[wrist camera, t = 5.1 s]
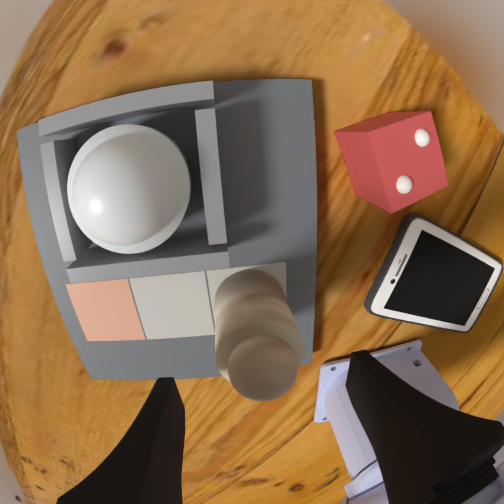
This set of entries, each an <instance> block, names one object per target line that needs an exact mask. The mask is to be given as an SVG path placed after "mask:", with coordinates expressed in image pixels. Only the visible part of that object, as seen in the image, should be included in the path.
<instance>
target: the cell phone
mask: <svg viewBox="0 0 504 504" xmlns="http://www.w3.org/2000/svg"><path fill="white" fill-rule="evenodd" d="M502 271H503V265H502V263H501V262H500V261H498V260H497V259H495V258H494V257H492V256H490V255H489V254H487V253H486V252H484V251H483V250H481V249H479V248H478V247H476V246H474V245H473V244H471V243H469V242H468V241H466V240H464V239H463V238H461V237H459V236H457V235H456V234H454V233H452V232H450V231H449V230H447V229H445V228H443V227H441V226H439V225H438V224H436V223H434V222H432V221H430V220H428V219H426V218H424V217H422V216H420V215H417V214H414V213H411V214H408V215H407V216H406V217H405V218H404V220H403V221H402V223H401V225H400V227H399V230H398V232H397V234H396V236H395V239H394V241H393V243H392V245H391V248H390V250H389V252H388V254H387V256H386V258H385V260H384V263H383V265H382V267H381V269H380V271H379V273H378V275H377V277H376V279H375V281H374V283H373V285H372V287H371V289H370V291H369V293H368V295H367V297H366V299H365V303H364V307H365V308H366V310H367V311H368V312H369V313H370V314H373V315H375V316H379V317H382V318H387V319H392V320H397V321H402V322H407V323H412V324H417V325H422V326H427V327H433V328H438V329H443V330H449V331H455V332H460V333H467V332H469V331H470V330H471V329H472V328H473V326H474V325H475V323H476V321H477V320H478V318H479V316H480V315H481V313H482V311H483V309H484V307H485V306H486V304H487V302H488V300H489V298H490V296H491V294H492V292H493V291H494V289H495V287H496V285H497V282H498V280H499V278H500V276H501V274H502ZM390 317H392V318H390ZM395 318H397V319H395ZM400 319H402V320H400ZM404 320H406V321H404ZM409 321H410V322H409Z"/></svg>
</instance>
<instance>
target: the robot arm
mask: <svg viewBox="0 0 504 504" xmlns="http://www.w3.org/2000/svg"><path fill="white" fill-rule="evenodd" d="M421 347H422V342H421V340H415V341H412V342H408V343H405V344H401V345H398V346H394V347H391V348H387V349H383V350H379V351H375V352H371V353H368V352H367V351H366V350H361V351H357V352H352V353H351V358H346V359H341V360H337V361H332V362H327V363H324V364H323V365H322V366H321V368H320V376H319V384H318V392H317V400H316V408H315V415H314V420H315V422H316V423H320V422H324V421H330V424H331V426H332V429H333V432H334V434H335V437H336V440H337V442H338V445H339V448H340V450H341V453H342V456H343V459H344V461H345V464H346V467H347V469H348V472H349V475H350V478H351V480H352V481H351V482H350V483H348V484H346V485H345V486H344V487H345V490H346V493H347V495H346V496H345V497H344V498H343V499H342V500H341V502H340V504H504V462H503V463H501V464H500V465H499V466H498V467H497V468H494V466H493V464H494V463H495V459H494V458H493V456H494V455H495V454H496V452H498V451H499V449H501V447H502V446H503V445H504V426H503V425H502V424H501V422H499V421H494V420H489V419H484V418H480V417H476V416H473V415H470V414H466V413H464V412H461V411H459V407H458V403H457V400H456V397H455V395H454V393H453V391H452V390H451V388H450V387H449V386H448V385H447V383H446V382H445V381H444V379H443V378H442V377H441V375H440V374H439V373H438V372H437V370H436V369H435V368H434V366H433V365H432V364H431V363H430V361H429V360H428V359H427V358H426V356H425V355H424V354H423V353H422V351H421ZM332 367H333V368H332ZM184 438H185V407H184V405H183V402H182V399H181V397H180V394H179V391H178V388H177V386H176V383H175V380H174V377H159V378H158V379H157V380H156V382H155V384H154V386H153V388H152V390H151V392H150V394H149V396H148V398H147V400H146V401H145V403H144V405H143V407H142V408H141V410H140V412H139V414H138V415H137V417H136V419H135V420H134V422H133V423H132V425H131V426H130V428H129V429H128V431H127V432H126V434H125V435H124V437H123V438H122V439H121V441H120V442H119V443H118V445H117V446H116V447H115V448H114V450H113V451H112V452H111V453H110V454H109V455H108V456H107V458H106V459H105V460H104V461H103V462H102V463H101V464H100V465H99V466H98V467H97V468H96V469H95V470H94V471H93V472H92V473H91V474H89V475H88V476H87V477H86V478H85V479H84V480H83V481H81V482H80V483H79V484H78V485H76V486H75V487H74V488H72V489H71V490H69V491H68V492H66V493H65V494H64V495H62V496H60V497H59V498H58V499H57V502H56V504H183V502H182V486H181V473H182V461H183V449H184Z"/></svg>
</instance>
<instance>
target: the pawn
mask: <svg viewBox="0 0 504 504" xmlns="http://www.w3.org/2000/svg"><path fill="white" fill-rule="evenodd" d="M304 356H305V346H304V342H303V340H302V337H301V335H300V332H299V330H298V327H297V325H296V322H295V320H294V317H293V315H292V312H291V310H290V308H289V305H288V303H287V300H286V298H285V295H284V293H283V290H282V288H281V286H280V284H279V282H278V281H277V280H276V279H275V278H274V277H273V276H271V275H270V274H268V273H266V272H263V271H260V270H242V271H239V272H236V273H234V274H232V275H230V276H228V277H227V278H226V279H225V280H224V281H223V282H222V283H221V284H220V285H219V287H218V289H217V291H216V295H215V357H216V365H217V368H218V370H219V372H220V373H221V375H222V376H223V377H224V378H226V379H227V380H228V381H230V382H231V383H232V385H233V387H234V388H235V389H236V390H237V391H238V392H239V393H240V394H241V395H243V396H244V397H246V398H248V399H251V400H254V401H261V402H265V401H272V400H275V399H277V398H279V397H281V396H283V395H284V394H286V393H287V392H288V391H289V390H290V389H291V387H292V386H293V384H294V383H295V381H296V378H297V374H298V368H299V367H300V366H301V364H302V362H303V360H304Z"/></svg>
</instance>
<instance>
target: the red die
mask: <svg viewBox="0 0 504 504" xmlns="http://www.w3.org/2000/svg"><path fill="white" fill-rule="evenodd" d="M334 134H335V136H336V139H337V141H338V144H339V147H340V150H341V152H342V155H343V158H344V161H345V164H346V166H347V169H348V172H349V175H350V178H351V181H352V184H353V187H354V191H355V194H356V196H358V197H360V198H362V199H364V200H366V201H367V202H369V203H371V204H373V205H375V206H377V207H379V208H381V209H383V210H385V211H387V212H388V213H390V214H392V213H394V212H396V211H398V210H400V209H402V208H404V207H406V206H409V205H411V204H413V203H415V202H417V201H419V200H421V199H423V198H425V197H427V196H429V195H431V194H433V193H435V192H437V191H439V190H441V189H443V188H444V187H446V186H448V181H447V176H446V170H445V166H444V161H443V156H442V152H441V147H440V143H439V139H438V135H437V131H436V128H435V124H434V121H433V117H432V114H431V111H405V112H388V113H385V114H382V115H379V116H376V117H373V118H370V119H368V120H365V121H362V122H359V123H356V124H353V125H351V126H348V127H345V128H342V129H340V130H337V131H334Z"/></svg>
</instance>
